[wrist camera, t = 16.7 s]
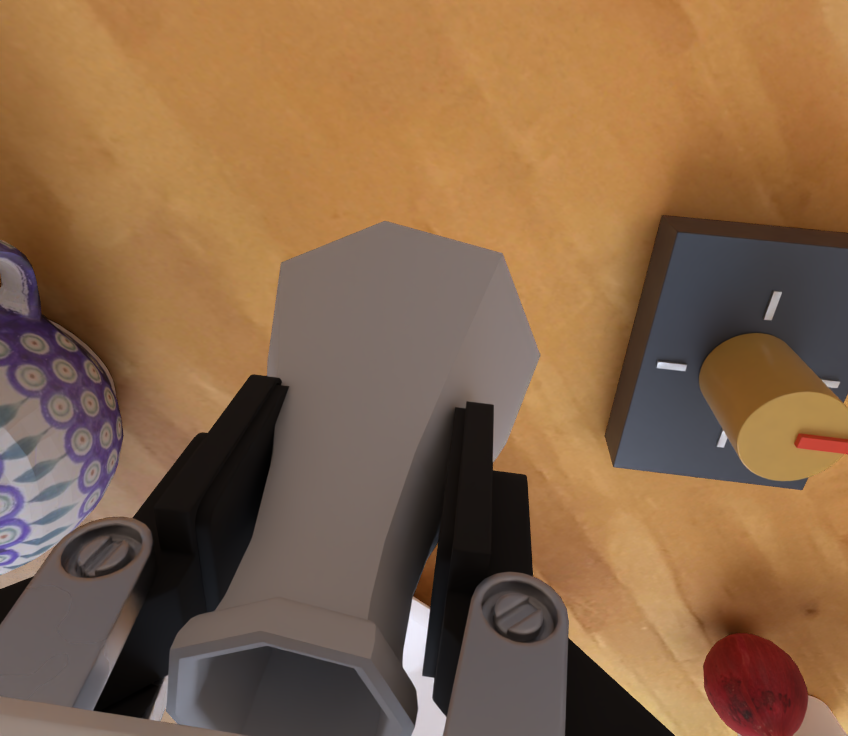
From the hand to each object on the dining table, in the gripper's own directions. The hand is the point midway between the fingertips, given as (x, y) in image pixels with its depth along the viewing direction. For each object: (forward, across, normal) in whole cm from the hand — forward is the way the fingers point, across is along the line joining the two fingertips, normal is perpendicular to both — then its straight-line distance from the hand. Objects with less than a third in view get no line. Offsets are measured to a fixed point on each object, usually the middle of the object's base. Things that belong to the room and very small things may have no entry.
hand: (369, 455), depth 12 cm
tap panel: (+21, -15, +6) cm, 27 cm away
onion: (+21, -22, +27) cm, 41 cm away
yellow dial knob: (+18, -15, +6) cm, 24 cm away
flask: (+5, 0, 0) cm, 5 cm away
